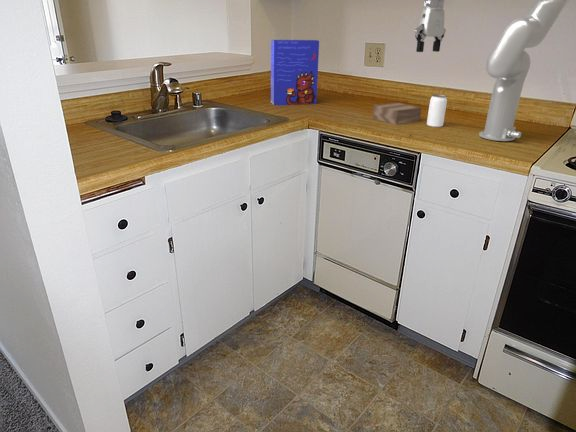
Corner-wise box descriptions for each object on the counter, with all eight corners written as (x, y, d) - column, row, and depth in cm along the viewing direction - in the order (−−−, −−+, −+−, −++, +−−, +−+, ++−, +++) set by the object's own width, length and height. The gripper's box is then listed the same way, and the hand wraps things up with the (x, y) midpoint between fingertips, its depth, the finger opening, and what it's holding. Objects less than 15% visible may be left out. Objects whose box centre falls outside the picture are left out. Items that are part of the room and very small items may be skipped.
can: (443, 127, 176) (448, 97, 171) (427, 126, 177) (431, 96, 172) (441, 124, 181) (446, 94, 176) (425, 123, 183) (430, 94, 178)
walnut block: (419, 122, 186) (421, 107, 184) (395, 125, 180) (397, 110, 177) (395, 116, 197) (397, 102, 195) (372, 119, 190) (373, 105, 188)
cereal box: (312, 103, 222) (315, 39, 209) (316, 105, 216) (319, 40, 204) (270, 104, 216) (271, 39, 204) (273, 106, 211) (274, 39, 199)
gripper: (425, 4, 166) (420, 52, 173) (455, 6, 174) (449, 51, 181) (411, 5, 172) (406, 51, 179) (440, 6, 180) (434, 50, 187)
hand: (427, 51), depth 180 cm, fingers open, 9 cm apart
